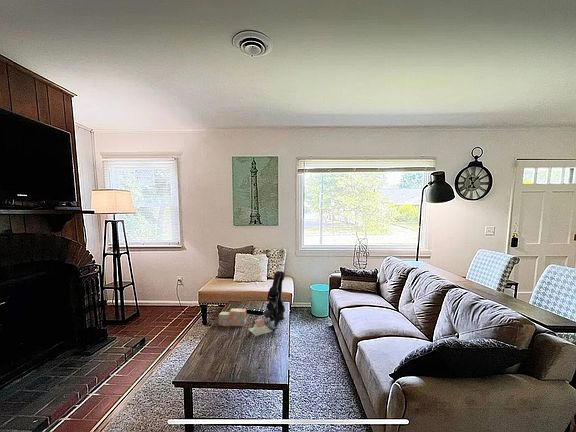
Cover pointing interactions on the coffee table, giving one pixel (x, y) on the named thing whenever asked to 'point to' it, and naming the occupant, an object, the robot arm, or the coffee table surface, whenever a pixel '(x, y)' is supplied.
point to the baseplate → (259, 332)
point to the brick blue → (273, 325)
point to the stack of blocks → (233, 318)
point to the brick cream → (259, 328)
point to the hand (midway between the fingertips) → (273, 325)
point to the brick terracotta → (260, 322)
